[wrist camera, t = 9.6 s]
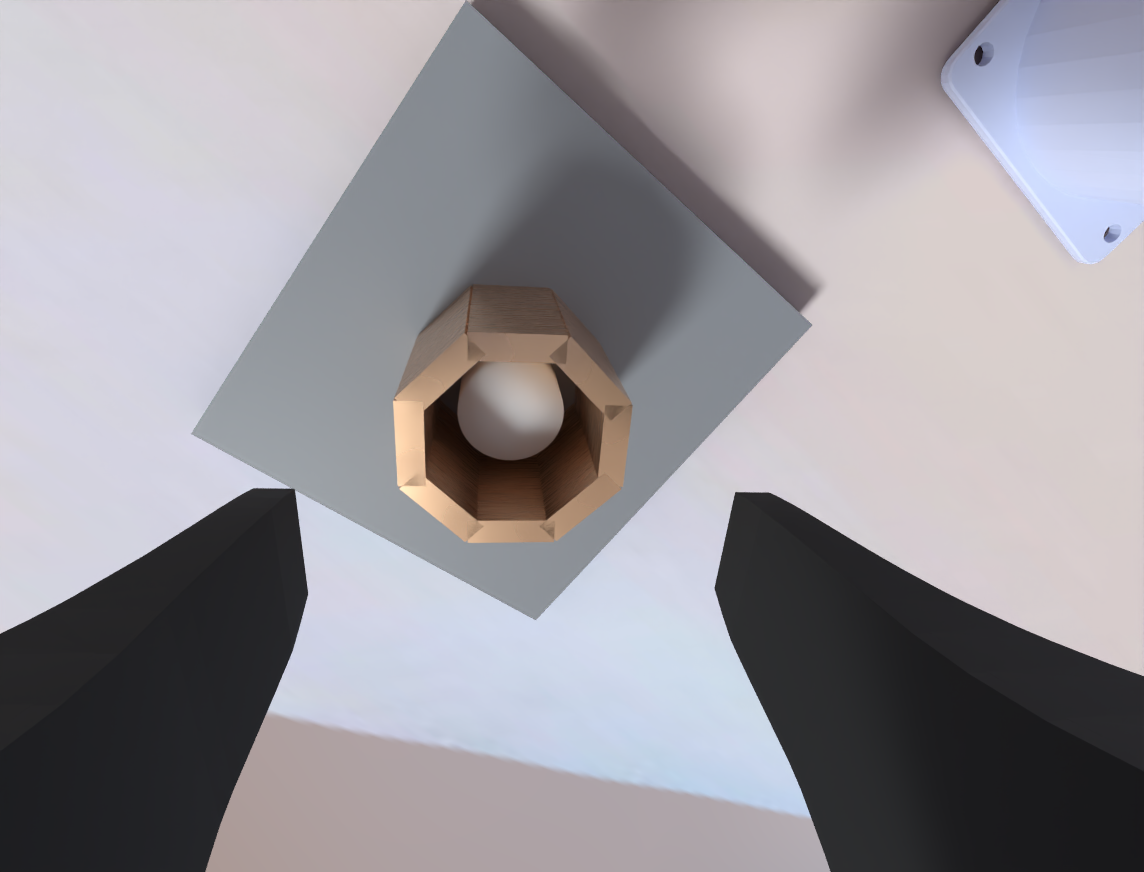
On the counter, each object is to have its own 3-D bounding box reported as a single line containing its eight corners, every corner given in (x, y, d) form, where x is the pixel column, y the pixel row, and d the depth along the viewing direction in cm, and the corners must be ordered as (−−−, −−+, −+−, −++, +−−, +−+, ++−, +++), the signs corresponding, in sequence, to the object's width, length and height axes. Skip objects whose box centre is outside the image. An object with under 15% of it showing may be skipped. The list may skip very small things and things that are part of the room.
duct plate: (467, 8, 15) (461, -27, 11) (797, 316, 19) (858, 351, 16) (205, 419, 18) (145, 477, 15) (533, 600, 22) (541, 676, 19)
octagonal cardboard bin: (414, 281, 16) (388, 328, 12) (604, 290, 17) (640, 337, 13) (420, 454, 18) (401, 543, 14) (589, 455, 19) (616, 541, 15)
